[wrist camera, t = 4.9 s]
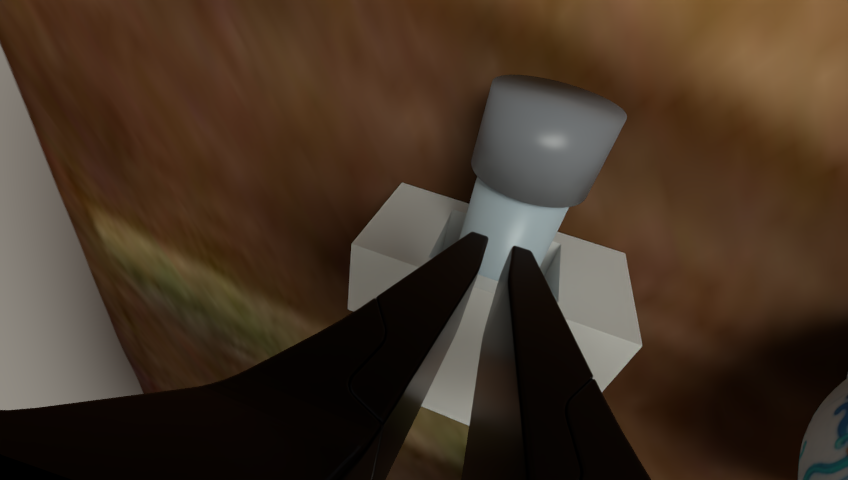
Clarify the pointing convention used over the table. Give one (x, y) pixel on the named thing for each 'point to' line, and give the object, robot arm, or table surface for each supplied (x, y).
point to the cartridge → (535, 162)
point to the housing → (562, 268)
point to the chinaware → (827, 439)
